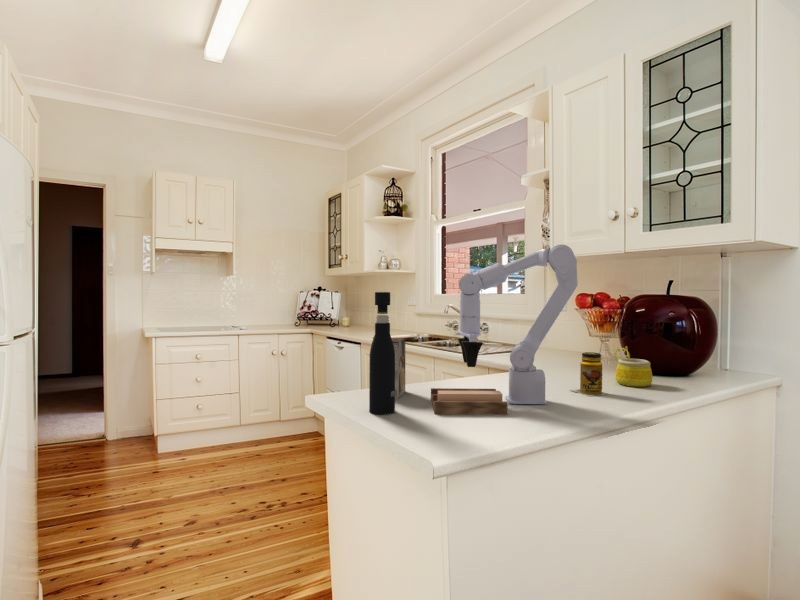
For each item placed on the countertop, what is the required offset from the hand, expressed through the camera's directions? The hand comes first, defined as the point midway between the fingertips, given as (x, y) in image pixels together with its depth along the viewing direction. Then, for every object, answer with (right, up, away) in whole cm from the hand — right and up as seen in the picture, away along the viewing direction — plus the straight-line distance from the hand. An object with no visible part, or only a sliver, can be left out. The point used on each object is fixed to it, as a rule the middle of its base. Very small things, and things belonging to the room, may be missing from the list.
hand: (469, 364), depth 137 cm
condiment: (+37, -10, +8) cm, 39 cm away
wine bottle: (-24, -10, -16) cm, 30 cm away
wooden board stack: (-2, -10, -10) cm, 14 cm away
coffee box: (-22, -9, +4) cm, 24 cm away
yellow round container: (+56, -9, +21) cm, 61 cm away
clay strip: (-2, -8, -13) cm, 16 cm away
